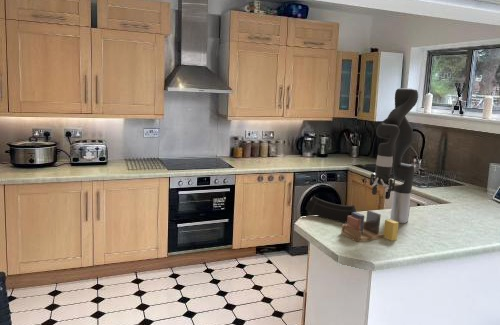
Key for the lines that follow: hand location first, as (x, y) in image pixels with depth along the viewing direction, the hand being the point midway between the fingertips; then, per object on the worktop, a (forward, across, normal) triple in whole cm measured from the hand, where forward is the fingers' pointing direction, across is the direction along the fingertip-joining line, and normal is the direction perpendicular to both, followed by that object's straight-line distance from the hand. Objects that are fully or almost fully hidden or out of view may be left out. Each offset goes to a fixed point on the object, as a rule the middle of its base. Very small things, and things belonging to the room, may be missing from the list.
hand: (380, 196), depth 207 cm
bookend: (+19, +3, 0) cm, 19 cm away
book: (+21, -5, -4) cm, 22 cm away
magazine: (+21, +30, +5) cm, 37 cm away
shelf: (+20, +2, +7) cm, 22 cm away
